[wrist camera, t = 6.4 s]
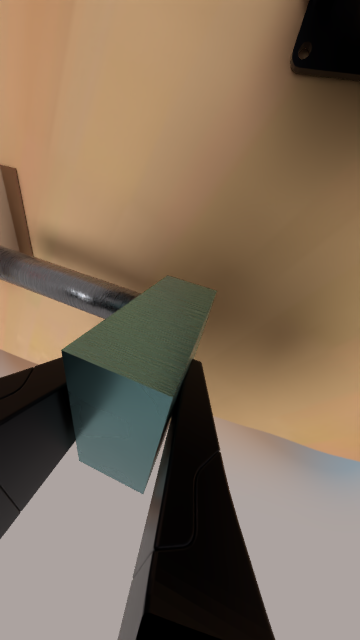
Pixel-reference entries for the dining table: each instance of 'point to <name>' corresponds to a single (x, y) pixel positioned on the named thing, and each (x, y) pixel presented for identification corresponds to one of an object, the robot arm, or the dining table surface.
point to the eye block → (12, 213)
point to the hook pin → (121, 360)
